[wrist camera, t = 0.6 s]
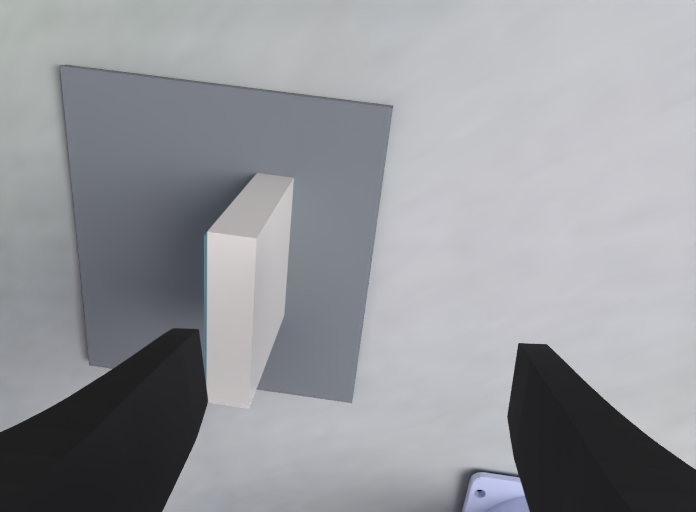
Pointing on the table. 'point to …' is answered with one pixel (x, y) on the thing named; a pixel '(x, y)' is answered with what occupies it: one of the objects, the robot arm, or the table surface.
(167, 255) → the mat
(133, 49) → the table surface
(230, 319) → the tile
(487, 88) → the table surface
